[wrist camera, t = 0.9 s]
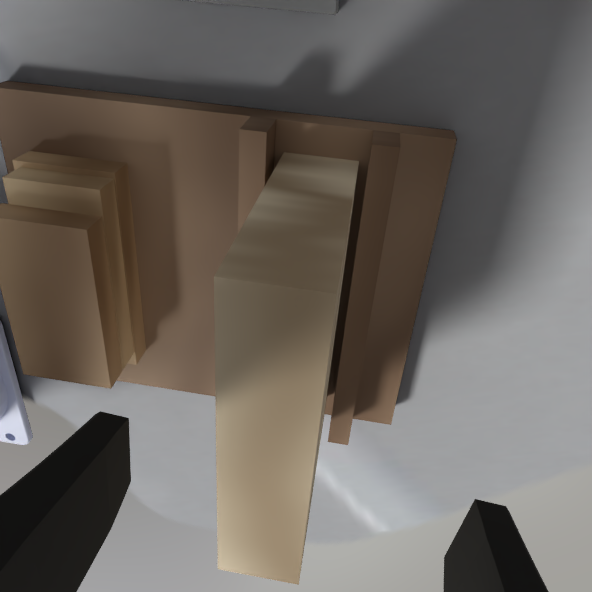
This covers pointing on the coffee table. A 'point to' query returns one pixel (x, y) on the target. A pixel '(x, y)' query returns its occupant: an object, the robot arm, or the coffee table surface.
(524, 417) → the coffee table surface
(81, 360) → the offcut stack
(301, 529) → the birch panel
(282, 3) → the grey channel block
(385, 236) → the walnut rack
